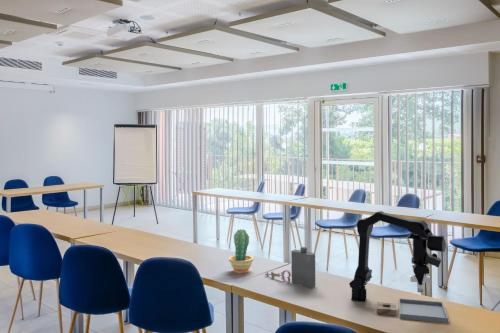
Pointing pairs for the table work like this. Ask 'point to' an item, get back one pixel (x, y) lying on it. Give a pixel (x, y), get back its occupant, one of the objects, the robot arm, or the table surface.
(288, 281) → the decorative key
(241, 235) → the potted cactus
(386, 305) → the socket block
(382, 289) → the table surface
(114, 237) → the table surface
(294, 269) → the flask
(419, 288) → the gray rectangular block
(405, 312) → the tray
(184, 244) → the table surface
